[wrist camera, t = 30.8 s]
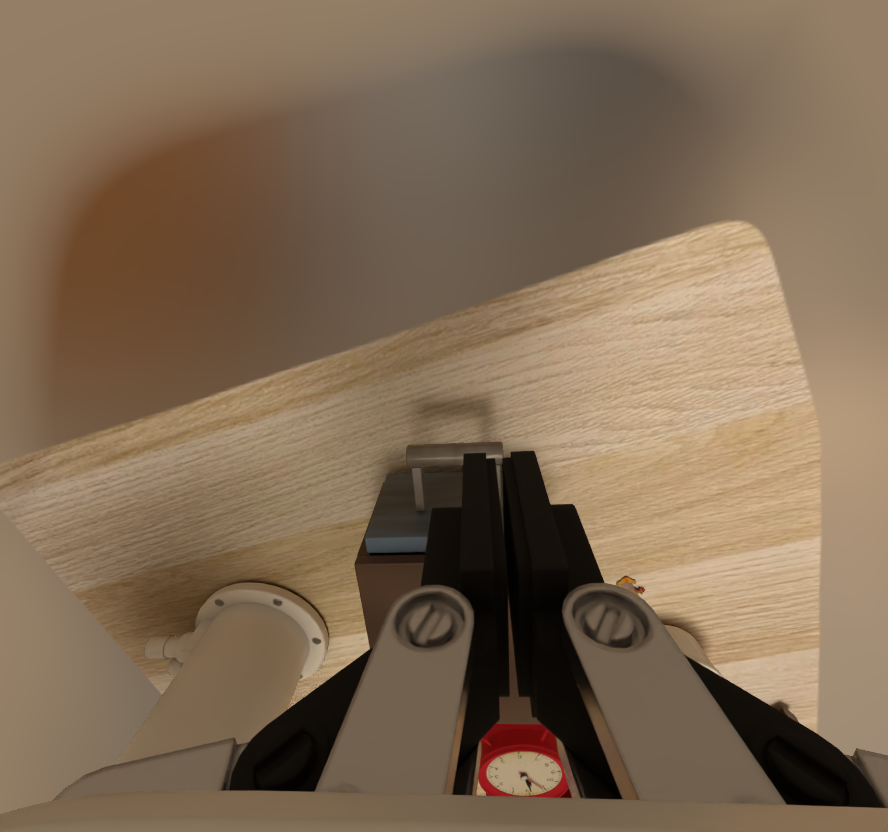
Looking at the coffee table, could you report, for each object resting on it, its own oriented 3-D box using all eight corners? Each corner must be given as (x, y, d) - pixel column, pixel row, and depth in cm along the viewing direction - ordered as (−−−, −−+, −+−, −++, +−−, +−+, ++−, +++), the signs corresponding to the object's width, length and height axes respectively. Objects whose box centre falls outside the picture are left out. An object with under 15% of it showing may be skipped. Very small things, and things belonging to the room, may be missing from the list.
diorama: (648, 592, 38) (658, 611, 36) (612, 611, 39) (619, 631, 37) (630, 571, 37) (639, 590, 35) (593, 591, 38) (600, 611, 36)
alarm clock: (568, 727, 40) (596, 861, 42) (557, 675, 46) (583, 794, 48) (457, 738, 41) (490, 867, 43) (461, 686, 47) (490, 801, 49)
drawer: (379, 418, 32) (352, 470, 25) (535, 411, 31) (555, 464, 24) (404, 605, 39) (389, 689, 32) (533, 604, 38) (548, 690, 31)
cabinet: (383, 481, 35) (353, 564, 26) (541, 476, 34) (566, 560, 25) (402, 616, 40) (383, 722, 32) (538, 615, 40) (558, 724, 31)
